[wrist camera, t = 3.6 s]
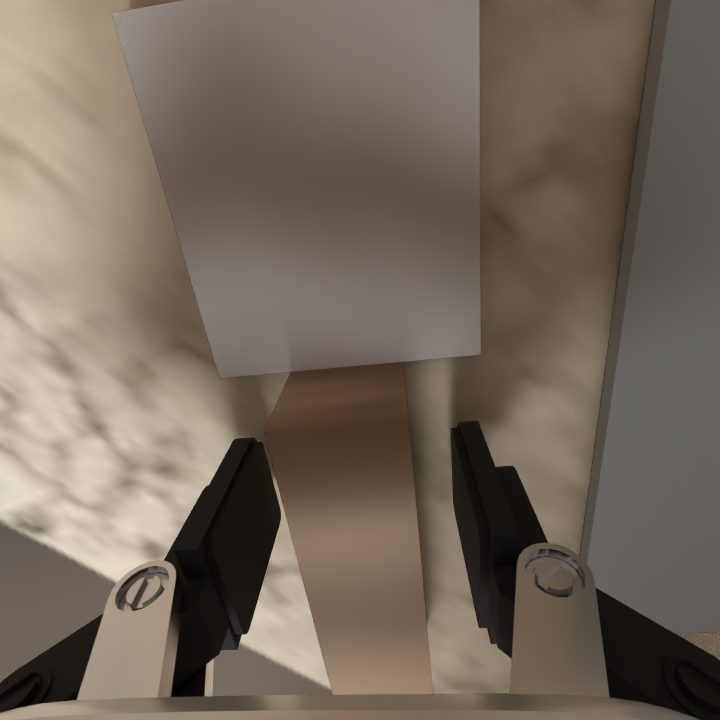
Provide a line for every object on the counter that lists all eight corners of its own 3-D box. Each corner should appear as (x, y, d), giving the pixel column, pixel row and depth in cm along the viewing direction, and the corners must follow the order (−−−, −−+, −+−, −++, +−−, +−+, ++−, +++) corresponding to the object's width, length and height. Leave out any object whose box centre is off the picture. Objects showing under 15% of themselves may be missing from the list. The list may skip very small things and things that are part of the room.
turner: (477, 623, 16) (500, 737, 13) (303, 628, 17) (284, 737, 14) (470, -35, 8) (530, -172, 5) (134, 25, 9) (-14, -59, 6)
